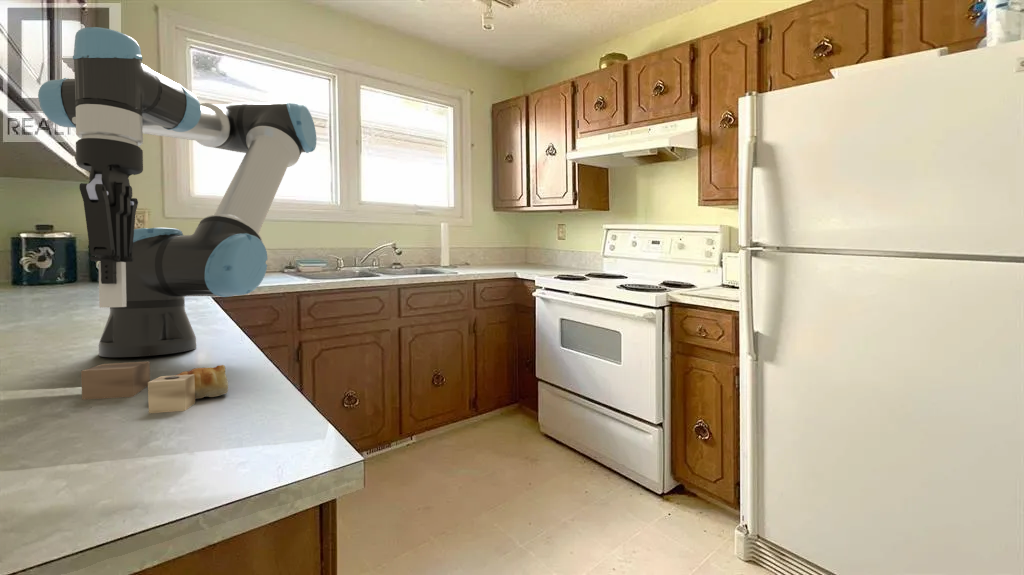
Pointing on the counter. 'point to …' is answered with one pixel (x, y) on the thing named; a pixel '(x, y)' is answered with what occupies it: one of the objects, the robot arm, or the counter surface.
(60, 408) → the counter surface
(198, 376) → the pastry
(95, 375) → the walnut block
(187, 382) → the beech block
